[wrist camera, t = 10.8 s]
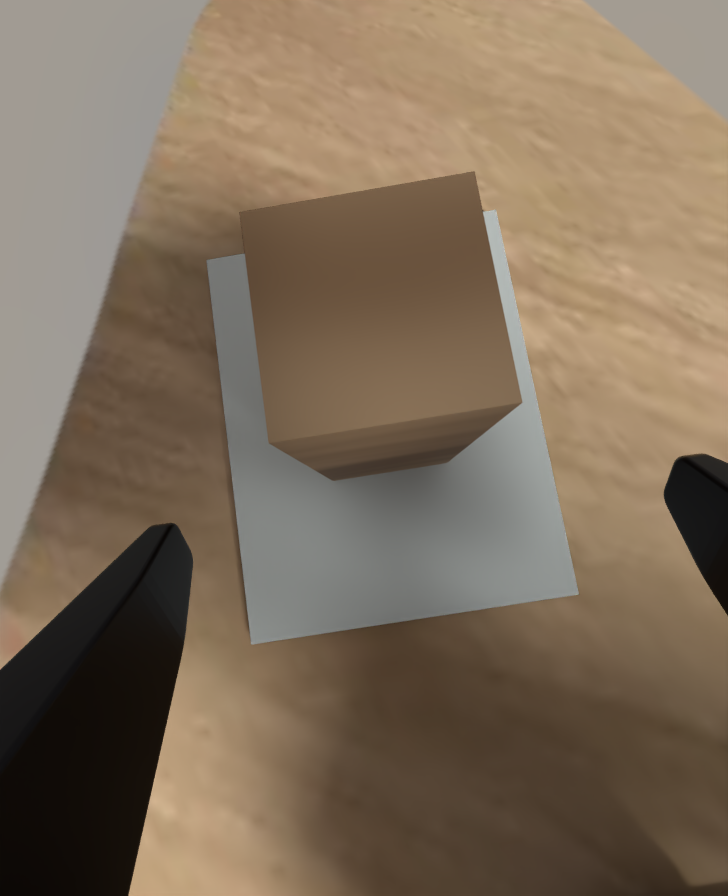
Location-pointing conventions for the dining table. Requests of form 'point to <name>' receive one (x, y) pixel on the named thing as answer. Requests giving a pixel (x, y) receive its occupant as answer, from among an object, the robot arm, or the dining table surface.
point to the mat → (386, 505)
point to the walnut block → (378, 326)
